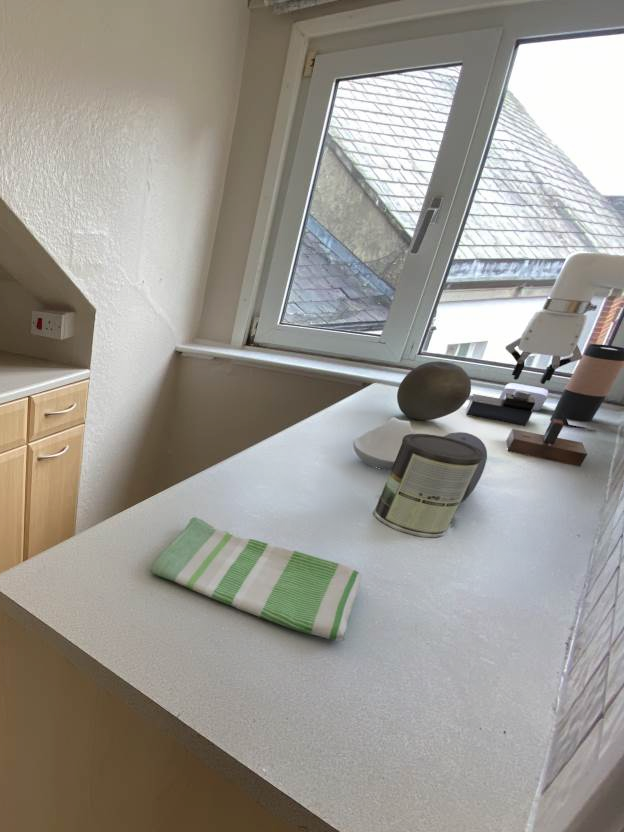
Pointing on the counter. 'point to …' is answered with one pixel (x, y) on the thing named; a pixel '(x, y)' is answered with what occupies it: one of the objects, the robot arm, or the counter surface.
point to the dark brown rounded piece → (433, 390)
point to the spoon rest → (382, 443)
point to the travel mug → (589, 384)
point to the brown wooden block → (546, 447)
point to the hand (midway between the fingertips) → (528, 380)
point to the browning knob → (553, 431)
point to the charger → (535, 392)
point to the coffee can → (427, 484)
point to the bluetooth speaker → (477, 475)
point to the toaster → (501, 409)
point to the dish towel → (262, 579)
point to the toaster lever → (521, 394)
